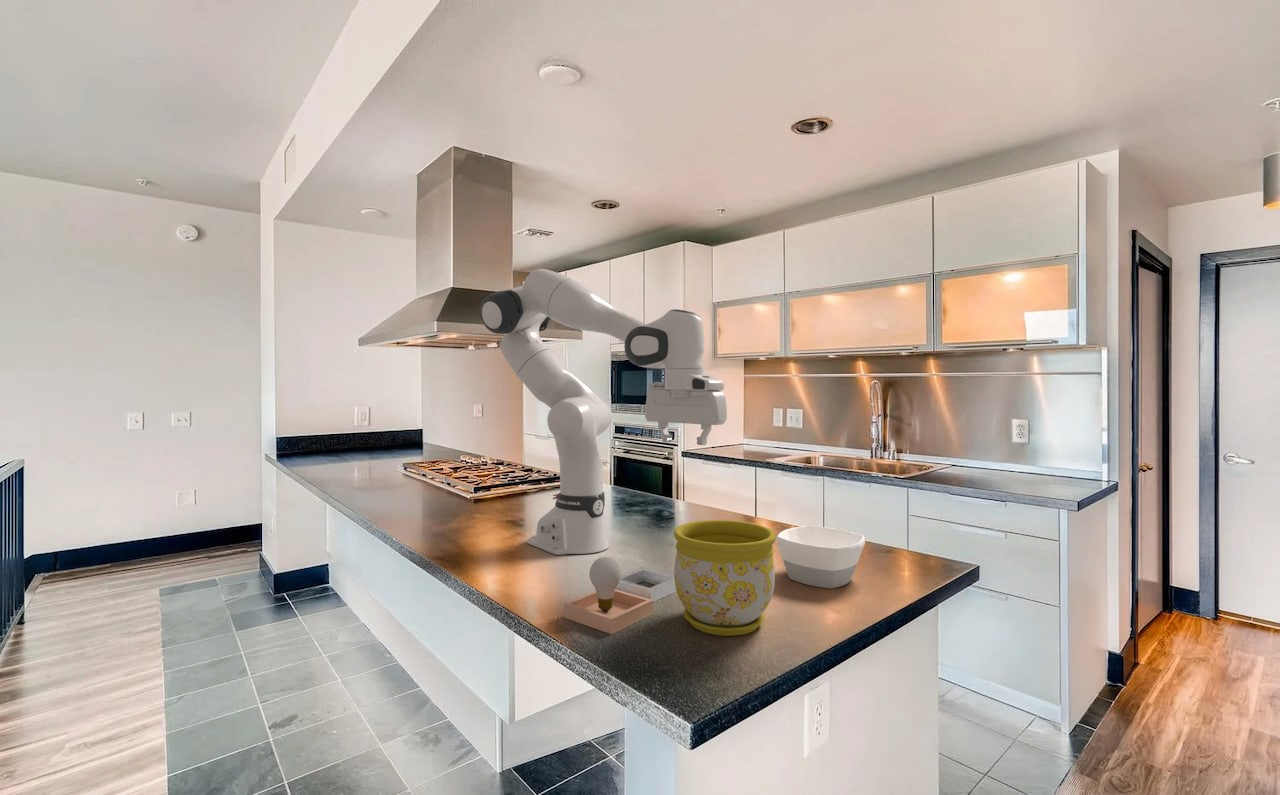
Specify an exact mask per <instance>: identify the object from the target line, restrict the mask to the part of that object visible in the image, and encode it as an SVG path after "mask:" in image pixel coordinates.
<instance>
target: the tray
mask: <svg viewBox="0 0 1280 795" xmlns="http://www.w3.org/2000/svg"><path fill="white" fill-rule="evenodd" d="M612 606H613V607H612V608H611V609H610V610H609V611H607V612H604V611H602V610H601V609H600V608H599V607H598V596H597V593H596V590H594V591H592V592H590V593H587V594H584V595H582V596H579V597H577V598H574V599H572V600H570V601H567V602H565V603H563V618H564V619H567V620H569V621H572V622H575V623H578V624H582V625H584V626H587V627H590V628H592V629H596V630H598V631H601V632H604V633H607V634H609V635H614V634H615V633H617V632H619V631H622V630H624V629H626V628H629V627H630V626H632V625H634V624H636V623H638V622H640V621H642V620H644V619H646V618H648V617H650V616H652V615H654V602H653V600H651V599H648V598H644V597H641V596H637V595H634V594H630V593H627V592H623V591H620V590H616V589H615V592H614V596H613V605H612Z"/></svg>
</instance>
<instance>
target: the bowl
mask: <svg viewBox="0 0 1280 795" xmlns="http://www.w3.org/2000/svg"><path fill="white" fill-rule="evenodd" d="M775 542H776V544H777V546H778V550H779V554H780V556H781V559H782V562H783V564H784V566H785V570H786V573H787V576H788V578H789V579H790V580H792V581H795V582H797V583H799V584H802V585H803V584H804V585H806V586H812V587H817V588H821V589H822V588H823V589H828V590H831V589H836V588H841V587H843V586H845V585H848V584H849V583H850V582H851V581H852V578H853V575H854V573H855V570H856V567H857V564H858V562H859V560H860V558H861V555H862V552H863V550H864V547H865V543H866V538H865V535H862V534H860V533H859V534H858V533H855V532H851V531H847V530H843V529H838V528H832V527H824V526H813V525H804V526H803V525H801V526H796V527H795V526H794V527H791V528H786V529H784V530H782V531H780V532H779V533H778V535H777V536H776V540H775Z"/></svg>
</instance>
